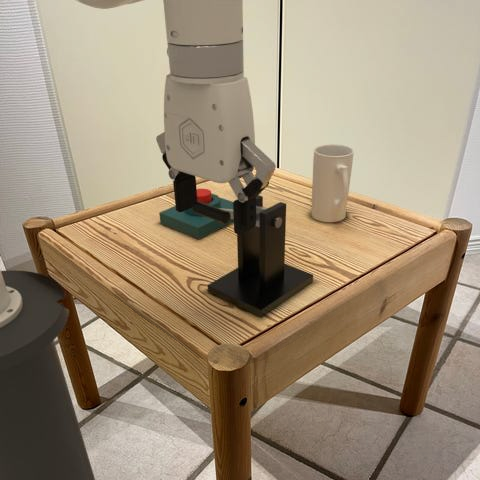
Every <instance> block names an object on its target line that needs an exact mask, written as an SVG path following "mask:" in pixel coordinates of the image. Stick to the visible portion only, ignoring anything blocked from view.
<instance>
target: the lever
mask: <svg viewBox="0 0 480 480" xmlns="http://www.w3.org/2000/svg"><path fill="white" fill-rule="evenodd" d="M267 208H268V207H265V206H263V207H262V206H256V226H257V227H259V213H260V212H261V211H263V210H265V209H267ZM193 212H194V213H197V214H200V215H202V216H205V217H208V218H210V219H213V220H216V221H219V222H221V223H224V224H226V223H228V222H229V221H230V219H234V216H233V209H223V208H216V207H214V206H211V205H208V204H205V203H202V202H199V201H196V202H195V203H194V204H193Z"/></svg>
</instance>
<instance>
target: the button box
mask: <svg viewBox="0 0 480 480" xmlns="http://www.w3.org/2000/svg"><path fill="white" fill-rule="evenodd" d="M211 196H212V202H210V203H207V204H208V205H211V206H214V207H216V208H223V209H233V202H234V201H232V200H228V199H226V198H223V197H220V196H219V195H218V194H214V193H212V192H211ZM158 214H159V223H160V224H161V225H163V226H165V227H168V228H170V229H173V230H175V231H177V232H180V233H182V234H185V235H187V236H190V237H192V238H194V239H197V240H200V239H203V238H205V237H208V235H211V234H212V233H215V232H217V231H219V230H221V229H223V228H225V227H227V226H229V225H231V224H234V219H230V221H229V222H228V223H226V224H224V223H221V222H219V221H216V220H213V219H210V218H208V217H205V216H202V215H200V214H197V213H194V212H193V207H192V208H190V209H188V210H185V211H183V212H178V211H176V206H175V205H174V206H172V207H169V208H167V209H164V210H161V211H160V212H159V213H158Z"/></svg>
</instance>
